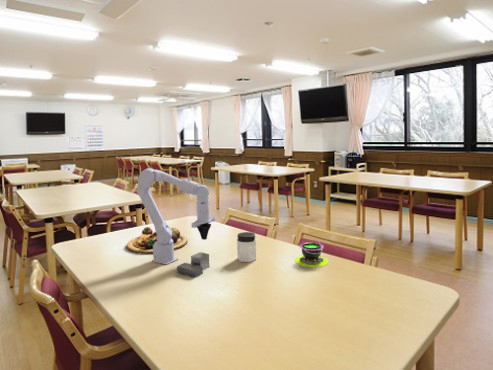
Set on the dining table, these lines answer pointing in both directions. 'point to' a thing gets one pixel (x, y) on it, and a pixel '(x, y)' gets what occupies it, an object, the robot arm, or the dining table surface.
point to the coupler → (190, 270)
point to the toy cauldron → (311, 255)
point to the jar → (246, 247)
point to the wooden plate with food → (153, 241)
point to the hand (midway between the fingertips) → (204, 239)
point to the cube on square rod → (200, 260)
